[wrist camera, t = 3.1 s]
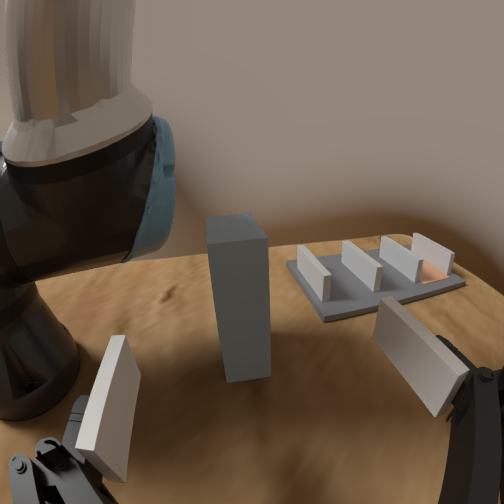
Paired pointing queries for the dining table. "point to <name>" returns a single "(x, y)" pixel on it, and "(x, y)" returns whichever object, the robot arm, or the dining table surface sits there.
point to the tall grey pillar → (241, 294)
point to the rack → (373, 276)
